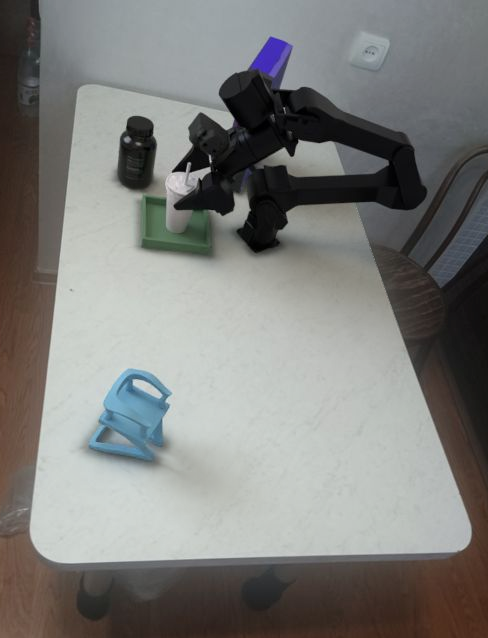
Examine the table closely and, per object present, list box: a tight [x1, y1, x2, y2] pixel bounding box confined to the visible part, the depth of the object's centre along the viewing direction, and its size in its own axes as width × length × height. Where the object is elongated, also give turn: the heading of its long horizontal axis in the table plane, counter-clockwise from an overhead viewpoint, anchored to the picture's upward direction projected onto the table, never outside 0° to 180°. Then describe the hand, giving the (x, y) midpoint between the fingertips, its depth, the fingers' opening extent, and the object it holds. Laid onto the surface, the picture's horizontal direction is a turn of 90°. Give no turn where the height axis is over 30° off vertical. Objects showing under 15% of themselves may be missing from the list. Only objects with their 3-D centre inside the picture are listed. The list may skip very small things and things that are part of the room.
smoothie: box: [164, 162, 199, 233], centre depth 94 cm, size 6×6×14 cm
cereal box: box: [225, 36, 294, 194], centre depth 108 cm, size 17×5×24 cm, turn 164°
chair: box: [88, 368, 173, 462], centre depth 68 cm, size 8×8×12 cm
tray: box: [140, 193, 212, 256], centre depth 99 cm, size 12×12×2 cm
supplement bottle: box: [116, 115, 158, 190], centre depth 101 cm, size 7×7×12 cm
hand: (173, 190), depth 93 cm, fingers open, 9 cm apart
